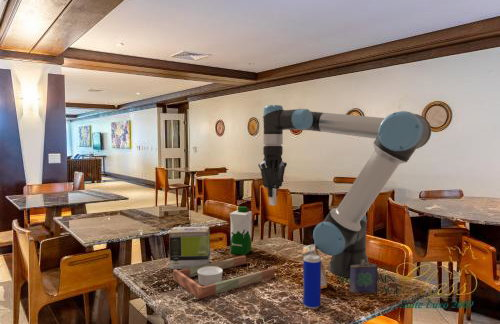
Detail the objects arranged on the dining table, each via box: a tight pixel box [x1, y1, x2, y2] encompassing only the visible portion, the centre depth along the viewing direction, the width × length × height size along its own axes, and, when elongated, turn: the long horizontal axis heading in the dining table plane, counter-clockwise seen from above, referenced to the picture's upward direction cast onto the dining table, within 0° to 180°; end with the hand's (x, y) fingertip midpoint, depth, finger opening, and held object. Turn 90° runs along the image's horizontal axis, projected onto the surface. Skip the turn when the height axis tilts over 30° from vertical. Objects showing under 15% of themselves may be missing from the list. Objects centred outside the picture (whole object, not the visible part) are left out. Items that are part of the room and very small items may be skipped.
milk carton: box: [229, 205, 253, 256], centre depth 161 cm, size 9×9×20 cm
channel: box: [172, 255, 276, 299], centre depth 131 cm, size 19×31×4 cm, turn 126°
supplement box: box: [301, 243, 328, 290], centre depth 123 cm, size 8×5×13 cm, turn 169°
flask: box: [349, 259, 379, 295], centre depth 119 cm, size 9×3×11 cm, turn 96°
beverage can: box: [302, 254, 322, 310], centre depth 109 cm, size 5×5×15 cm
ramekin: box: [197, 266, 224, 286], centre depth 127 cm, size 9×9×4 cm
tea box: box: [168, 225, 211, 270], centre depth 144 cm, size 15×10×15 cm, turn 92°
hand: (272, 204), depth 143 cm, fingers closed
